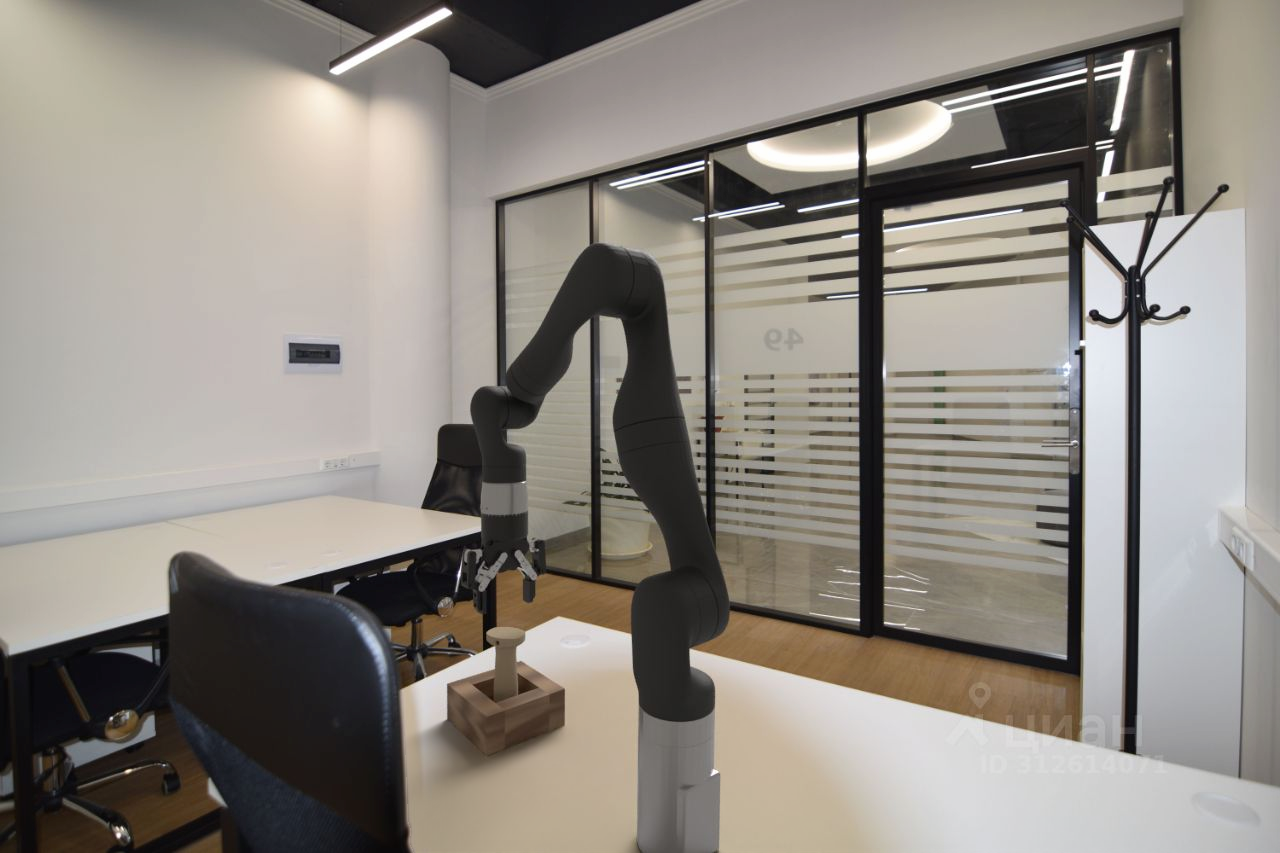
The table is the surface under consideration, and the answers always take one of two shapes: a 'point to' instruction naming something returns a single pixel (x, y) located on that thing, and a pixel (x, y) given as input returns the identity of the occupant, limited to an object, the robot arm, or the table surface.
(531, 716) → the wooden block
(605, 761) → the table surface
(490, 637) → the handle
